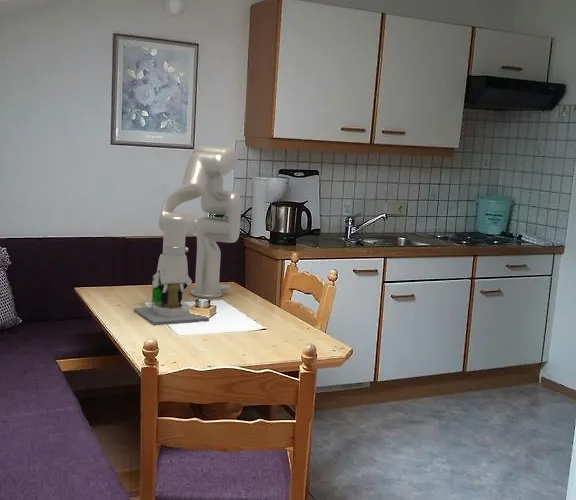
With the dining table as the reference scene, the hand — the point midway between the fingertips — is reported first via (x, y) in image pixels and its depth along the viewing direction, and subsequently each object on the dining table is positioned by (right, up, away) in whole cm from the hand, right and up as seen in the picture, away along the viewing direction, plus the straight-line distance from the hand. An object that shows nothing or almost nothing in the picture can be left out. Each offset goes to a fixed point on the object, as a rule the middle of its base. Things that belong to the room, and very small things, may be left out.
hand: (171, 302), depth 248 cm
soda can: (-6, -2, +16) cm, 17 cm away
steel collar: (0, -5, +1) cm, 5 cm away
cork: (0, -4, 0) cm, 4 cm away
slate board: (0, -5, +1) cm, 5 cm away
